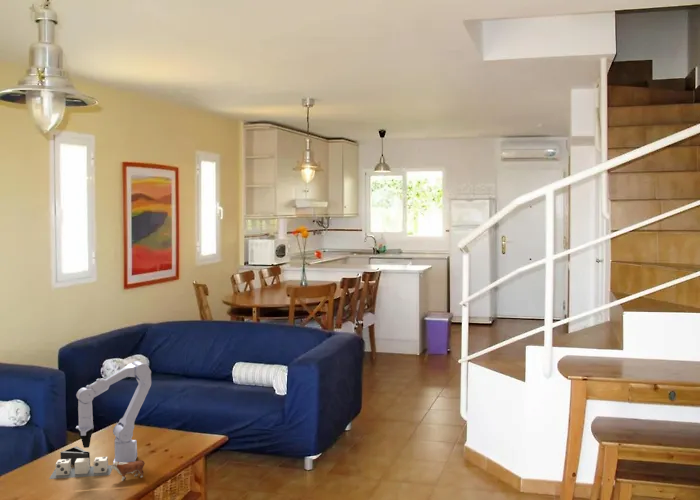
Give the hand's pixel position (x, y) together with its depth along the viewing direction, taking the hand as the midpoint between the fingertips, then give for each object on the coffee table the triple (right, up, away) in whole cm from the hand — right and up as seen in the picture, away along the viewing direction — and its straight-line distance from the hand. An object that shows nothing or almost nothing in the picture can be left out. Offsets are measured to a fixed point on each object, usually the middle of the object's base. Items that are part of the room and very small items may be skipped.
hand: (86, 447), depth 311 cm
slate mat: (+1, -9, -6) cm, 11 cm away
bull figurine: (+22, -10, -14) cm, 28 cm away
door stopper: (-11, -6, +7) cm, 14 cm away
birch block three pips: (-7, -9, -8) cm, 14 cm away
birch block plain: (+1, -9, -6) cm, 11 cm away
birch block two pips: (+8, -9, -5) cm, 13 cm away
